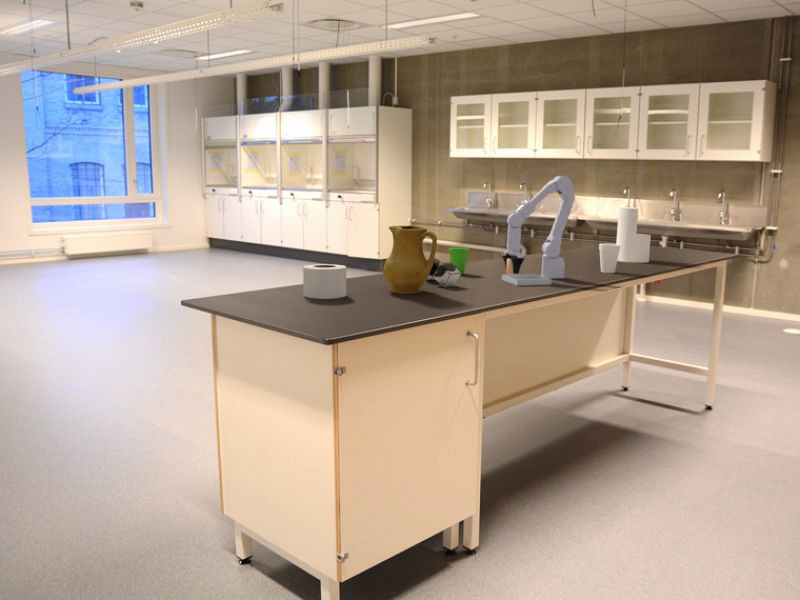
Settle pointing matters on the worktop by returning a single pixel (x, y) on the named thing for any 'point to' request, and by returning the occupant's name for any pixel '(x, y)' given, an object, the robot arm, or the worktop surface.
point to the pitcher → (408, 259)
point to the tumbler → (509, 267)
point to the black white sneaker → (444, 273)
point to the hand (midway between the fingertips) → (512, 272)
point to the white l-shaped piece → (631, 237)
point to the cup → (459, 258)
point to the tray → (526, 279)
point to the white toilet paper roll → (324, 281)
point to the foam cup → (608, 257)
